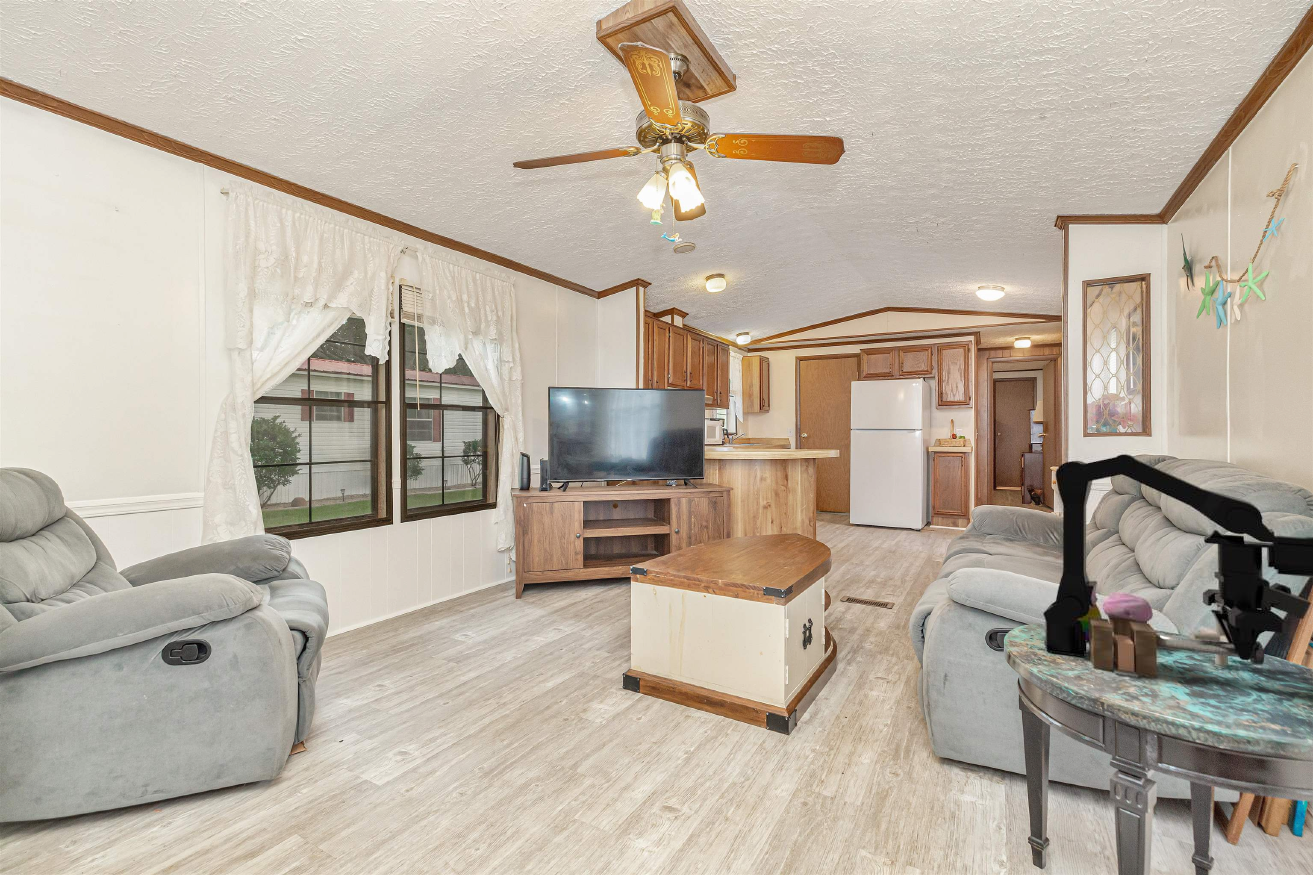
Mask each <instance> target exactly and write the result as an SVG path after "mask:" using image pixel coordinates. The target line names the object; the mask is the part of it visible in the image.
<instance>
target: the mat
mask: <svg viewBox="0 0 1313 875" xmlns="http://www.w3.org/2000/svg"><path fill="white" fill-rule="evenodd" d="M1112 672H1114V674H1115V675H1117V676H1121V677H1122V676H1123V677H1130V678H1135V679H1138V678H1139V675H1138V674H1137V673H1136V672H1135V670H1134V672H1133V671H1126V670H1119V669H1118V668H1117V666H1116V664H1115V662H1114V660H1113V671H1112Z"/></svg>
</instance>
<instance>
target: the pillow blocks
mask: <svg viewBox="0 0 1313 875" xmlns="http://www.w3.org/2000/svg"><path fill="white" fill-rule="evenodd" d="M1129 633H1130V639H1131V641H1132V642H1133V644H1134V670H1135V672H1136V673H1137V675H1138V676H1139V675H1140V676H1144V677H1145V676H1146V677H1152V678H1153V677H1154V678H1158V659H1157V658H1158V656H1157V654H1158V652H1157V649H1158V647H1156V634H1157V632H1156V630H1155V629H1154V628H1153V626H1151V625H1150V623H1148V622H1147V623H1138V622H1129ZM1088 642H1089V644H1088V646H1089V647H1088V650H1089V651H1088V652H1089V653H1088V654H1089V655H1088V656H1089V660H1090V663H1091V665H1092V667H1093V669H1098V670H1105V671H1111V672H1114V671H1113V627H1112V626H1111V624H1110V621H1109V619H1108V618H1103V617H1102V618H1093V617H1089V641H1088Z"/></svg>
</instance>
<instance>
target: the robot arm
mask: <svg viewBox="0 0 1313 875" xmlns="http://www.w3.org/2000/svg"><path fill="white" fill-rule="evenodd" d="M1115 476H1116V477H1117V476H1125V477H1127V478H1130V479H1131V480H1134V481H1136V482H1138V483H1140V484H1143V485H1145V486H1147V487H1149V488H1150V489H1153V490H1155V491H1158V492H1159V493H1161V494H1164V495H1166V496H1168V497H1170V498H1172V499H1175V500H1177V501H1179V502H1181V503H1183V504H1185V505H1188V506H1189V507H1190V508H1193V509H1194V510H1195V511H1197V512H1199V513H1200V514H1202V515H1203V516H1204V517H1206V518H1207V519H1208V520H1210V521H1212V522H1214V523H1215V524H1216V525H1218V526H1220V528H1223V529H1224V530H1226V531H1227V532H1229V533H1232V534H1223V533H1221V532H1220V531H1218V530H1217V529H1214V530H1213V531H1212V532H1211V533H1210V534H1208V535H1207V536H1204V538H1203V541H1204V543H1205V544H1212V545H1213V544H1214V545H1217V569H1218V570H1217V571H1214V578H1216V579H1217V581H1218V582H1217V583H1218V589H1214V588H1213V589H1212V588H1207V589H1206V590H1205V591H1204V592H1202V603H1203V604H1204V605H1206V607H1207V606H1208V607H1212V605H1213V604H1214V605H1215V604H1216V609H1211V610H1210V612H1211V614H1212V615H1213V617H1215V619H1216V620H1217V622H1218V624H1219V626H1220V628H1221V629H1222V631H1223V633H1224V635H1225V637H1226V639H1227V641H1228V642H1230V643H1233V645H1234V647H1235V649H1236V651H1237V653H1238V655H1239V657H1238V658H1239V659H1241V660H1242V661H1244V660H1245V661H1250V656H1251V653H1252V651H1253V648H1254V646H1255V643H1256V641H1258V639H1259V636H1260V635H1261V634H1263V633H1265V632H1270V633H1271V632H1272V633H1277V634H1279V633H1280V634H1285V633H1287V626H1286V623H1287V622H1286V621H1285V619H1283V618H1282V617H1281V616H1279V615H1278V614H1276V613H1275V612H1273V611H1272V608H1273V609H1276V610H1278V611H1281V612H1284V613H1288V614H1290V615H1291V616H1292V615H1293V616H1294V617H1296V618H1298V619H1301V620H1303V619H1304V618H1305V616H1306V615H1307V613H1308V611H1309V609H1310V606H1311V605H1312V602H1311V601H1309V600H1307V599H1305V598H1303V597H1301V596H1298V595H1296V594H1292V588H1290V587H1288V586H1286V585H1284V584H1281V583H1278V582H1275V583H1274V584H1272V585H1271V583H1270V582H1269V581H1268V579H1266V578H1264V577H1263V576H1264V575H1263V571H1264V570H1263V548H1264V549H1266V560H1267V563H1266V564H1267V567H1268V568H1273V570H1276V574H1277V575H1283V576H1284V575H1286V576H1295V577H1296V576H1297V577H1307V578H1313V536H1303V537H1302V536H1291V535H1289V536H1288V535H1275V531H1274V530H1273V528H1268V527H1267V526H1266V524H1264V522H1263V515H1262V513H1261V511H1260V509H1259V508H1258V507H1257V506H1255V504H1253V503H1252V502H1250V501H1247V500H1245V499H1242V498H1241V499H1240V498H1237V497H1234V496H1232V495H1231V496H1230V495H1226V494H1224V493H1220V492H1216V491H1211V490H1209V489H1205V488H1201V487H1200V486H1197V485H1195V484H1193V483H1190V482H1188V481H1186V480H1184V479H1182V478H1179V477H1178V476H1175V475H1173V474H1171V473H1169V472H1166V471H1164V470H1161V469H1160V468H1157V467H1155V466H1152V465H1150V464H1147V463H1146V462H1143V461H1141V460H1139V459H1137V458H1136V457H1135V456H1134V455H1131V454H1119V455H1116V456H1114V457H1110V458H1105V459H1101V460H1096V461H1092V462H1084V461H1082V460H1072V461H1066V462H1064V463H1062V464H1060V465H1059V466H1058V467H1057V469H1056V471H1055V480H1056V485H1057V490H1058V494H1059V496H1060V499H1061V502H1062V524H1063V525H1062V528H1063V529H1062V537H1063V538H1062V544H1063V545H1062V562H1063V563H1062V568H1063V569H1062V573H1061V574H1062V575H1061V578H1060V581H1059V584H1058V588H1057V592H1056V598H1055V601H1054V602H1052V603H1050V605H1049V606H1048V607H1047V609H1045V611H1043V613H1042V614H1043V617H1044V619H1045V620H1044V622H1045V623H1044V624H1045V628H1044V629H1045V640H1044V641H1043V642H1044V646H1045V649H1046V650H1045V651H1046V652H1048V653H1055V654H1060V655H1068V656H1074V657H1075V656H1076V657H1085V652H1087V641H1086V631H1085V629H1084V628H1083V624H1082V622H1081V621H1080V620H1078V619H1079V618H1083V617H1084V616H1086V615H1087V614H1088V612H1089V611H1090V609H1091V607H1094V605H1095V604H1096V603H1097V601H1098V598H1097V595H1096V593H1097V592H1096V589H1097V585H1098V581H1097V580H1090V578H1089V576H1088V573H1087V503H1088V500H1089V497H1090V494H1091V490H1092V484H1093V481H1097V480H1102V479H1103V480H1104V479H1107V478H1111V477H1115ZM1235 534H1236V535H1235ZM1244 535H1247V536H1249V537H1251V538H1253V539H1255V540H1257V541H1258V542H1257V541H1249V540H1245V537H1244ZM1215 619H1214V620H1215Z"/></svg>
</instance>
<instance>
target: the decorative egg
mask: <svg viewBox="0 0 1313 875" xmlns="http://www.w3.org/2000/svg"><path fill="white" fill-rule="evenodd" d="M1089 617H1093V618H1102V619H1103V617H1102V614H1101V611H1100V608H1099V607H1098V605H1097V604H1096V603H1095V605H1094V607H1091V609H1090V611H1089V612H1088V614H1087V615H1086V616H1084V617H1083V618H1079V619H1078V620H1080V621H1081V622H1082V624H1083V628H1084V629H1085V631H1086V642H1087V641H1088V642H1089Z"/></svg>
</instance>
